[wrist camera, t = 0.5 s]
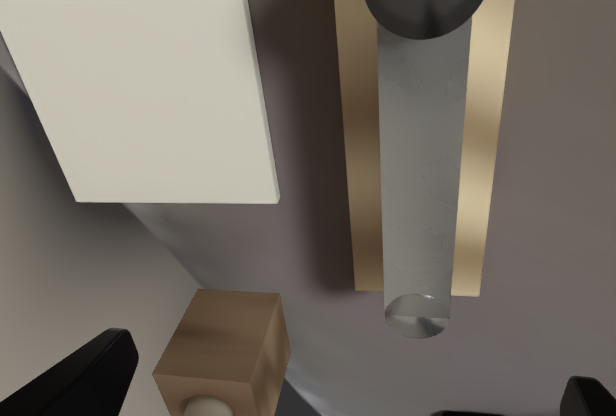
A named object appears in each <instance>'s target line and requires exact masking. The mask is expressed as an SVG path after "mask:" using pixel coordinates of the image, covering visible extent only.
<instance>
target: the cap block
mask: <svg viewBox="0 0 616 416" xmlns="http://www.w3.org/2000/svg"><path fill="white" fill-rule="evenodd" d="M290 354H291V351H290V346H289V340H288V335H287V330H286V325H285V319H284V314H283V309H282V304H281V299H280V294H279V293H260V292H240V291H221V290H204V289H198V290H197V292H196V294H195V296H194V298H193V299H192V301H191V303H190V305H189V307H188V309H187V310H186V312H185V314H184V316H183V318H182V320H181V322H180V323H179V325H178V327H177V329H176V331H175V333H174V335H173V336H172V338H171V340H170V342H169V344H168V345H167V347H166V349H165V351H164V353H163V355H162V357H161V359H160V360H159V362H158V364H157V366H156V367H155V369H154V371H153V373H152V375H153V377H154V379H155V382H156V384H157V386H158V388H159V390H160V393H161V395H162V397H163V399H164V402H165V404H166V406H167V408H168V411H169V413H170V415H171V416H274V413H275V410H276V406H277V402H278V398H279V394H280V391H281V387H282V383H283V380H284V376H285V372H286V369H287V365H288V361H289V357H290Z"/></svg>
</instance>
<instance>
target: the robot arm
mask: <svg viewBox="0 0 616 416" xmlns="http://www.w3.org/2000/svg"><path fill="white" fill-rule="evenodd" d="M138 359H139V356H138V351H137V349H136V346H135V344H134V341H133V339H132V336H131V334H130V332H129V331H128V330H127V329H119V328H109V329H108V330H106V331H104V332H102V333H101V334H100V335H98V336H97V337H95V338H94V339H92V340H91V341H89V342H88V343H87V344H85V345H83V346H82V347H81V348H79V349H78V350H76V351H75V352H73V353H72V354H70V355H69V356H67V357H66V358H64V359H63V360H62V361H60V362H59V363H57V364H56V365H54V366H53V367H51V368H50V369H49V370H47V371H45V372H44V373H42V374H41V375H40V376H38V377H37V378H35V379H34V380H32V381H31V382H29V383H28V384H26V385H25V386H24V387H22V388H21V389H19V390H18V391H16V392H15V393H13V394H12V395H10V396H9V397H7V398H6V399H4V400H3V401H1V402H0V416H118V415H119V412H120V410H121V407H122V405H123V402H124V399H125V397H126V394H127V391H128V389H129V386H130V383H131V381H132V378H133V375H134V373H135V370H136V367H137V364H138ZM442 416H476V415H466V414H456V413H444V414H443V415H442ZM560 416H616V399H615V398H614V397H613V396H612V395H611V394H610V393H609V391H608V390H607V389H606V388H605V387H604V386H603V385H602V384H601V383H600V382H599V381H598V380H596V379H595V378H591V377H582V376H572V377H570V378H569V380H568V383H567V386H566V389H565V391H564V394H563V397H562V400H561V404H560Z"/></svg>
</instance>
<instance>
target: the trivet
mask: <svg viewBox="0 0 616 416" xmlns="http://www.w3.org/2000/svg"><path fill="white" fill-rule="evenodd" d="M0 31H1V33H2V36H3V38H4V40H5V42H6V45H7V47H8V49H9V51H10V54H11V56H12V58H13V60H14V63H15V65H16V67H17V69H18V71H19V74H20V76H21V78H22V80H23V83H24V85H25V87H26V89H27V92H28V94H29V96H30V98H31V101H32V103H33V105H34V107H35V110H36V112H37V114H38V116H39V119H40V121H41V123H42V125H43V128H44V130H45V132H46V134H47V137H48V139H49V141H50V143H51V145H52V148H53V150H54V152H55V154H56V157H57V159H58V161H59V164H60V166H61V168H62V170H63V172H64V175H65V177H66V179H67V182H68V184H69V186H70V188H71V190H72V193H73V195H74V197H75V200H76V202H142V203H256V204H277V203H278V201H279V199H280V192H279V186H278V180H277V174H276V168H275V162H274V156H273V150H272V144H271V138H270V132H269V126H268V120H267V114H266V108H265V102H264V96H263V90H262V84H261V78H260V72H259V66H258V59H257V53H256V47H255V41H254V35H253V29H252V23H251V17H250V11H249V5H248V0H0Z"/></svg>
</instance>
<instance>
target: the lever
mask: <svg viewBox="0 0 616 416" xmlns="http://www.w3.org/2000/svg"><path fill="white" fill-rule="evenodd" d="M365 2H366V5H367V7H368V8H369V10H370V12H371V14H372V15H373V16H374V18H375V19H376V20H377V56H378V92H379V127H380V163H381V199H382V235H383V270H384V306H385V319H386V322H387V324H388V325H389V326H390V327H391V329H393V330H394V331H395V332H397V333H399V334H401V335H403V336H406V337H410V338H428V337H432V336H435V335H437V334H439V333H440V332H442V331H443V330H444V329H445V328H446V326H447V325H448V322H449V314H450V301H451V288H452V275H453V262H454V249H455V236H456V223H457V210H458V197H459V184H460V171H461V158H462V145H463V131H464V118H465V105H466V92H467V79H468V66H469V53H470V40H471V27H472V15H473V14H474V13H475V12H476V11H477V9H478V8H479V6H480V5H481V3H482V2H483V0H365Z"/></svg>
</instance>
